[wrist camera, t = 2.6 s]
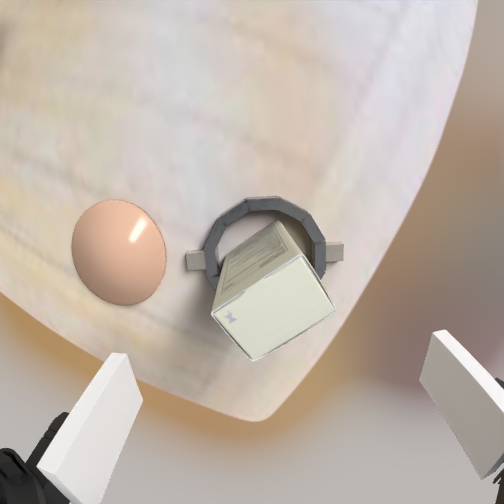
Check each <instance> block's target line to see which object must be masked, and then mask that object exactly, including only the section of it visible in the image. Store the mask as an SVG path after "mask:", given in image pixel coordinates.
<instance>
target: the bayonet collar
mask: <svg viewBox="0 0 504 504" xmlns="http://www.w3.org/2000/svg"><path fill="white" fill-rule="evenodd" d="M260 210H279V211H281V212H283V213H285V214H287V215H289V216H291V217H293V218H295V219H297V220H299V221H300V222H301V224H302V225H303V227H304V228H305V230H306V232H307V233H308V235H309V237H310V238H311V266H312V267H313V269H314V270H315V272H316V274H317V275H318V277H319V278H320V280H321V279H322V277H323V275H324V274H325V271H326V262H332V261H343V248H344V244H343V243H342V242H327V243H326V241H325V238H324V236H323V235H322V233H321V231H320V230H319V228H318V226H317V225H316V223H315V221H314V220H313V218H312V216H311V215H310V214H309V213H308V212H307V211H306V210H304V209H302V208H300V207H299V206H297V205H295V204H293V203H291V202H289V201H287V200H285V199H283V198H281V197H277V196H267V197H250V198H247V201H246V199H243V200H242V201H240V202H239V203H237V204H236V205H234V206H233V207H231V208H230V209H228V210H227V211H225V212H224V213H222V214H221V215H220V216H219V217H218V219H217V220H216V222H215V224H214V227H213V229H212V231H211V233H210V235H209V237H208V239H207V242H206V244H205V246H204V247H205V248H204V250H194V251H187V253H186V260H187V268H188V270H201V269H206V274H207V278H208V281H209V282H210V283H211V285H212V286H213V287H214V289H215V290H217V286H218V283H219V279H220V275H221V270H220V266H219V256H218V246H217V245H218V243H219V241H220V239H221V237H222V235H223V233H224V230H225V228H226V226H228V225H229V224H231V223H232V222H234V221H235V220H237V219H238V218H240V217H241V216H243V215H244V214H246V213H247V212H249V211H260Z"/></svg>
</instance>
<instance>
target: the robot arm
mask: <svg viewBox="0 0 504 504" xmlns="http://www.w3.org/2000/svg"><path fill="white" fill-rule="evenodd" d="M419 380H420V382H421V384H422V385H423V387H424V388H425V390H426V391H427V392H428V394H429V395H430V397H431V398H432V400H433V401H434V403H435V405H436V406H437V407H438V409H439V411H440V412H441V414H442V415H443V417H444V418H445V420H446V422H447V423H448V425H449V426H450V428H451V430H452V431H453V433H454V434H455V436H456V438H457V439H458V441H459V443H460V444H461V446H462V447H463V449H464V451H465V452H466V454H467V456H468V458H469V459H470V461H471V463H472V464H473V466H474V468H475V470H476V471H477V473H478V475H479V477H480V479H481V480H482V479H483V478H485V477H487V476H489V475H490V474H492V473H493V472H495V471H496V470H497V469H498V468H499V466H500V465H501V464H502V463H503V462H504V382H503V381H502V380H500V379H498V378H495V379H493V378H492V376H491V375H490V374H489V373H488V372H487V371H486V370H485V369H484V368H483V367H482V366H481V365H480V364H479V363H478V362H477V361H476V360H475V359H474V358H473V357H472V355H470V353H469V352H468V351H467V350H466V349H465V348H464V347H463V346H461V345H460V344H459V342H458V341H457V340H456V339H454V338H453V337H452V336H451V335H450V334H449V333H448V332H447V331H446V330H441V331H437V332H433V333H432V336H431V340H430V344H429V348H428V352H427V355H426V359H425V363H424V366H423V370H422V373H421V376H420V379H419ZM142 402H143V399H142V396H141V394H140V391H139V388H138V386H137V383H136V380H135V377H134V374H133V371H132V368H131V365H130V362H129V359H128V356H127V354H123V353H111V354H110V356H109V357H108V358H107V360H106V361H105V363H104V364H103V365H102V367H101V368H100V370H99V371H98V373H97V374H96V375H95V377H94V378H93V380H92V381H91V383H90V384H89V386H88V387H87V389H86V390H85V391H84V393H83V394H82V396H81V397H80V399H79V400H78V402H77V403H76V405H75V406H74V408H73V409H72V411H71V412H70V413H66V412H63V413H62V414H60V415H59V416H58V417H56V418H55V419H54V420H53V422H52V423H51V425H50V426H49V428H48V430H47V431H46V432H45V434H44V437H42V438H41V440H40V441H39V443H38V444H37V446H36V448H35V449H34V451H33V452H32V454H31V455H30V457H29V459H28V460H27V461H26V463H24V461H23V460H22V459H21V458H20V456H19V455H18V454H17V453H16V452H15V451H14V450H12V449H10V448H2V449H0V504H69V502H71V503H72V504H100V503H101V500H102V498H103V495H104V492H105V490H106V487H107V485H108V482H109V480H110V477H111V475H112V472H113V470H114V467H115V465H116V463H117V460H118V458H119V455H120V453H121V451H122V448H123V446H124V443H125V441H126V438H127V436H128V434H129V431H130V429H131V427H132V425H133V422H134V420H135V418H136V416H137V413H138V411H139V409H140V406H141V404H142ZM500 477H501V480H500V481H499V483H498V484H500V486H499V491H498V495H497V500H496V503H495V504H504V469H503V470H502V471H501V472H500V473H499V474H498V475H497V477H496V478H495V479H494V481H493V483H496V482H497V481H498V479H499V478H500Z"/></svg>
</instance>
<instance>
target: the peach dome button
mask: <svg viewBox="0 0 504 504" xmlns="http://www.w3.org/2000/svg"><path fill="white" fill-rule="evenodd" d="M72 256H73V261H74V264H75V267H76V270H77V272H78V274H79V276H80V278H81V279H82V281H83V282H84V283H85V285H86V286H87V287H88V288H89V289H90V290H91V291H92V292H93V293H94V294H95V295H97V296H98V297H100V298H101V299H103V300H105V301H107V302H110V303H113V304H118V305H131V304H136V303H139V302H141V301H143V300H145V299H146V298H148V297H149V296H150V295H151V294H152V293H153V292H154V291H155V290H156V289H157V287H158V286H159V284H160V283H161V280H162V278H163V276H164V273H165V268H166V248H165V243H164V240H163V237H162V235H161V232H160V230H159V228H158V227H157V225H156V223H155V222H154V221H153V220H152V218H151V217H150V216H149V215H148V214H147V213H146V212H145V211H143V210H142V209H141V208H139V207H138V206H136V205H134V204H132V203H129V202H126V201H122V200H108V201H103V202H100V203H97V204H95V205H93V206H92V207H90V208H89V209H87V210H86V211H85V212H84V213H83V214H82V216H81V217H80V219H79V220H78V222H77V224H76V226H75V229H74V232H73V237H72Z"/></svg>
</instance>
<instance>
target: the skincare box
mask: <svg viewBox="0 0 504 504" xmlns="http://www.w3.org/2000/svg"><path fill="white" fill-rule="evenodd" d="M336 311H337V308H336V306H335V305H334V303H333V301H332V299H331V297H330V296H329V294H328V292H327V290H326V289H325V287H324V285H323V283H322V282H321V280H320V278H319V277H318V275H317V274H316V272H315V270H314V269H313V267H312V266H311V264H310V263H309V261H308V260H307V258H306V257H305V255H304V254H303V253H302V251H301V250H300V248H299V247H298V246H297V244H296V243H295V241H294V240H293V239H292V237H291V236H290V234H289V233H288V231H287V230H286V229H285V227H284V226H283V225H282V223H281V222H280V221H279V220H277V221H275V222H273V223H272V224H270V225H268V226H267V227H265V228H264V229H262V230H261V231H259V232H258V233H256V234H255V235H253V236H252V237H251V238H249V239H248V240H246V241H245V242H243V243H242V244H241V245H239V246H238V247H236V248H235V249H234V250H232V251H231V252H230V253H228V254H227V255H226V256H225V260H224V264H223V267H222V271H221V275H220V279H219V283H218V286H217V290H216V294H215V298H214V302H213V306H212V310H211V315H212V317H213V318H214V319H215V320H216V321H217V323H218V324H219V325H220V326H221V328H222V329H223V330H224V331H225V333H226V334H227V335H228V336H229V337H230V338H231V339H232V341H233V342H234V343H235V344H236V345H237V346H238V347H239V349H240V350H241V351H242V352H243V353H244V354H245V355H246V356H247V357H248V358H249V359H250V360H251V361H256V360H258V359H260V358H262V357H264V356H266V355H268V354H270V353H272V352H274V351H275V350H277V349H279V348H281V347H282V346H284V345H286V344H288V343H289V342H291V341H293V340H294V339H296V338H297V337H299V336H301V335H302V334H304V333H305V332H307V331H309V330H310V329H312V328H313V327H315V326H316V325H318V324H319V323H320V322H322V321H324V320H325V319H326V318H328V317H329V316H331V315H332V314H334V313H335V312H336Z"/></svg>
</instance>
